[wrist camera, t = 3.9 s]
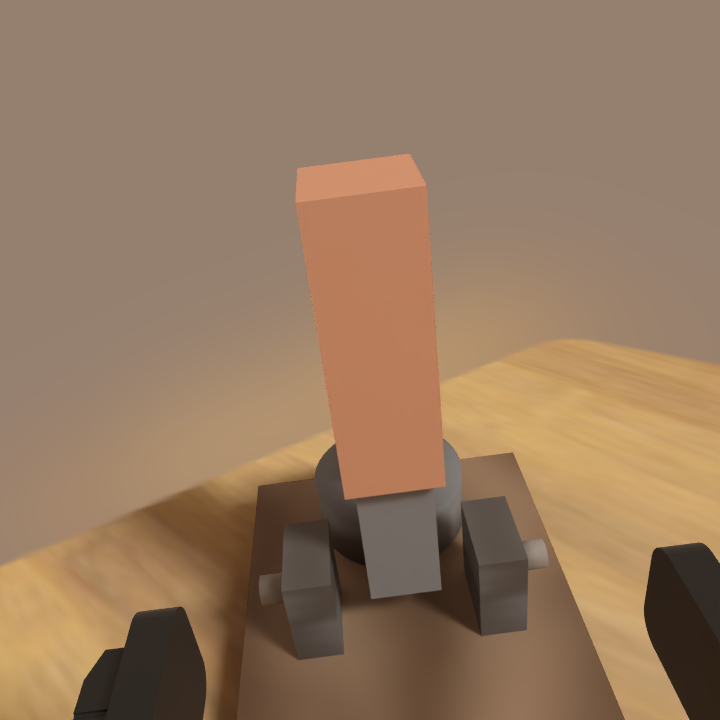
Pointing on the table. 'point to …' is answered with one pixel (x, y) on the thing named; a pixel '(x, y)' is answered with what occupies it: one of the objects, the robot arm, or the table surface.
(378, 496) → the lever
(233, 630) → the table surface
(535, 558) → the base
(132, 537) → the table surface
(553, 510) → the table surface
